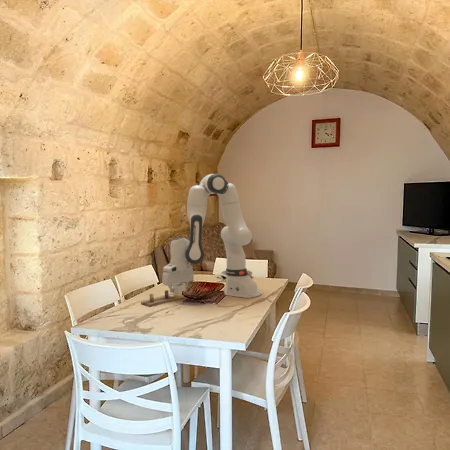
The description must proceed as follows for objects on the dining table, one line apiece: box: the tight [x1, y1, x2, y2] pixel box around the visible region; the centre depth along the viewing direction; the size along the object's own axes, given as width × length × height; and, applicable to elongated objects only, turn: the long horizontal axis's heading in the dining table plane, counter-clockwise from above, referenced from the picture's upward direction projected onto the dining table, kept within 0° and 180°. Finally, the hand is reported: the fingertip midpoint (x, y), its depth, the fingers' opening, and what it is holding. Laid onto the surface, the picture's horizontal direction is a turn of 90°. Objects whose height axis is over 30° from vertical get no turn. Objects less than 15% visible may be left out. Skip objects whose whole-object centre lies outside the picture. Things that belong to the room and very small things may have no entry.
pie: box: [216, 270, 253, 281], centre depth 277 cm, size 28×27×5 cm
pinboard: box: [140, 290, 178, 308], centre depth 216 cm, size 8×18×5 cm, turn 136°
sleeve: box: [172, 283, 187, 300], centre depth 226 cm, size 5×5×7 cm
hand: (178, 290), depth 225 cm, fingers open, 8 cm apart
